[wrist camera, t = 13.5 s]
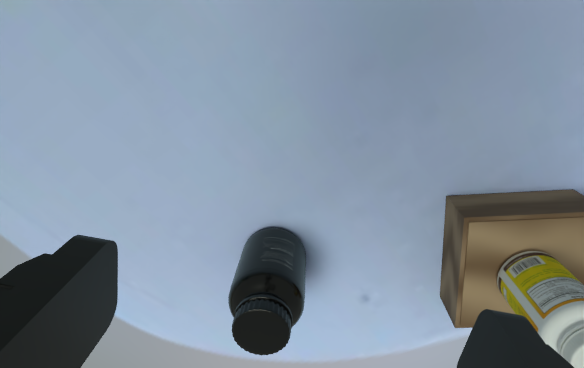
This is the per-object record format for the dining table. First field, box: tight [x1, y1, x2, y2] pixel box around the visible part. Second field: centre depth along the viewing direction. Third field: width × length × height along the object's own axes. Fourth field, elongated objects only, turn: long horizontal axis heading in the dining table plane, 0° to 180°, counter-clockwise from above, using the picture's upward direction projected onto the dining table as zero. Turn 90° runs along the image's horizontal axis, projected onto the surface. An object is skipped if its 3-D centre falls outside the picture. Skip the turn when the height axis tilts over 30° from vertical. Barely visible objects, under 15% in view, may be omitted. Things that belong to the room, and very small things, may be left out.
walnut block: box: [440, 189, 584, 328], centre depth 38 cm, size 12×12×5 cm
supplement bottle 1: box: [229, 228, 306, 355], centre depth 37 cm, size 7×7×12 cm
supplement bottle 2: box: [497, 251, 584, 368], centre depth 31 cm, size 6×6×10 cm
